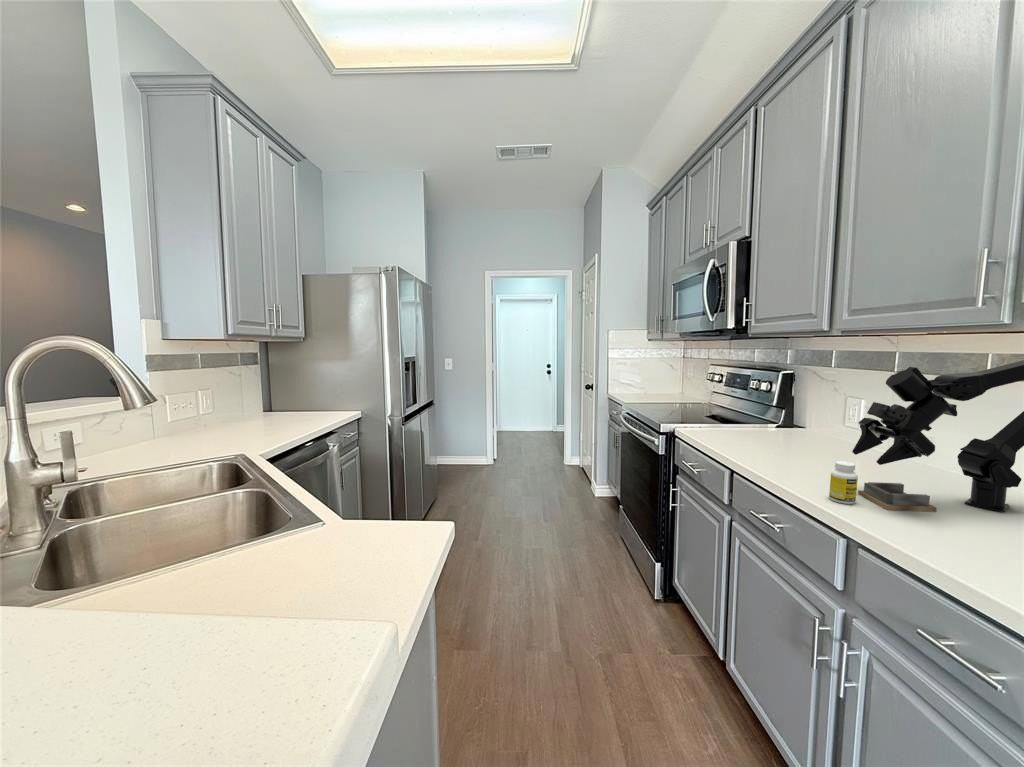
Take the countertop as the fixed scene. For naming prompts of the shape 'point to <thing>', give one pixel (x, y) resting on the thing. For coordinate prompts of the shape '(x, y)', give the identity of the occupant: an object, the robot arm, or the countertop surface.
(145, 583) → the countertop surface
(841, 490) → the supplement bottle
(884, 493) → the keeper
